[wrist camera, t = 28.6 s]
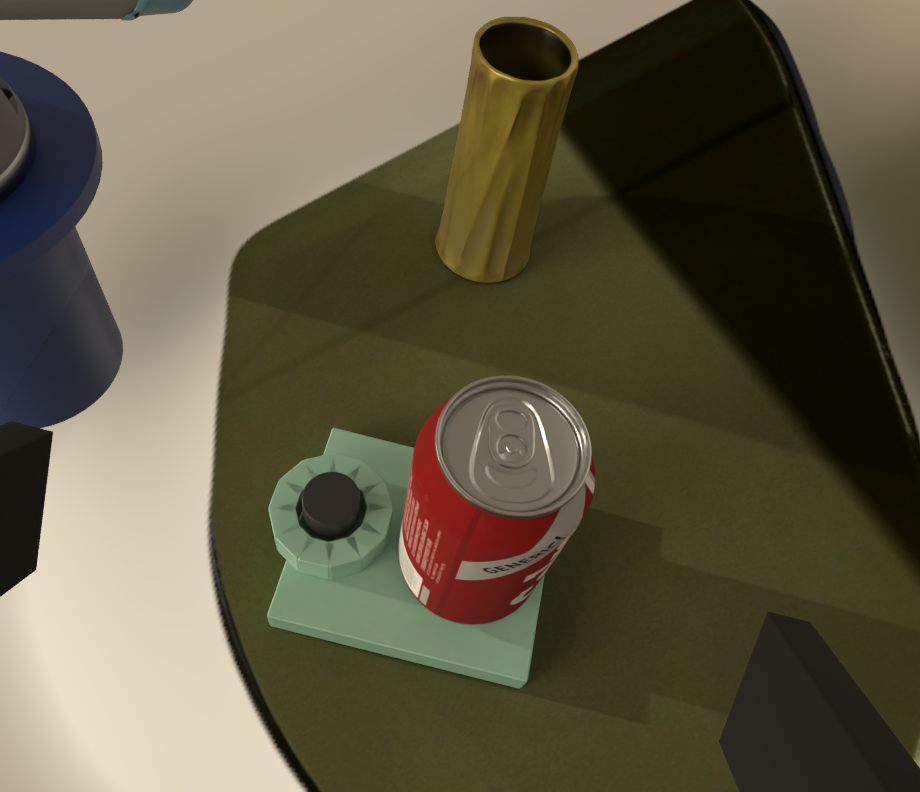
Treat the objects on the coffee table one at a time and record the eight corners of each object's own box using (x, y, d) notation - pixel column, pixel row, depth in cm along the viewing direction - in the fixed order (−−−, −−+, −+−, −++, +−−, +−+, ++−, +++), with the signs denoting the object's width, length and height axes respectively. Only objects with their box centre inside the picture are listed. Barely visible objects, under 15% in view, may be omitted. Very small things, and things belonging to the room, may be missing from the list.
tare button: (295, 529, 35) (293, 516, 34) (313, 479, 36) (312, 464, 35) (350, 543, 35) (351, 531, 34) (366, 492, 36) (367, 479, 35)
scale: (243, 619, 36) (233, 598, 33) (310, 436, 41) (307, 403, 38) (520, 689, 36) (536, 673, 33) (551, 496, 41) (567, 468, 38)
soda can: (392, 625, 35) (411, 526, 25) (401, 488, 38) (422, 352, 28) (539, 633, 35) (617, 541, 25) (535, 498, 39) (602, 369, 29)
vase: (467, 298, 47) (509, 103, 35) (417, 230, 49) (440, 25, 37) (547, 265, 49) (612, 70, 37) (495, 201, 52) (541, -1, 40)
